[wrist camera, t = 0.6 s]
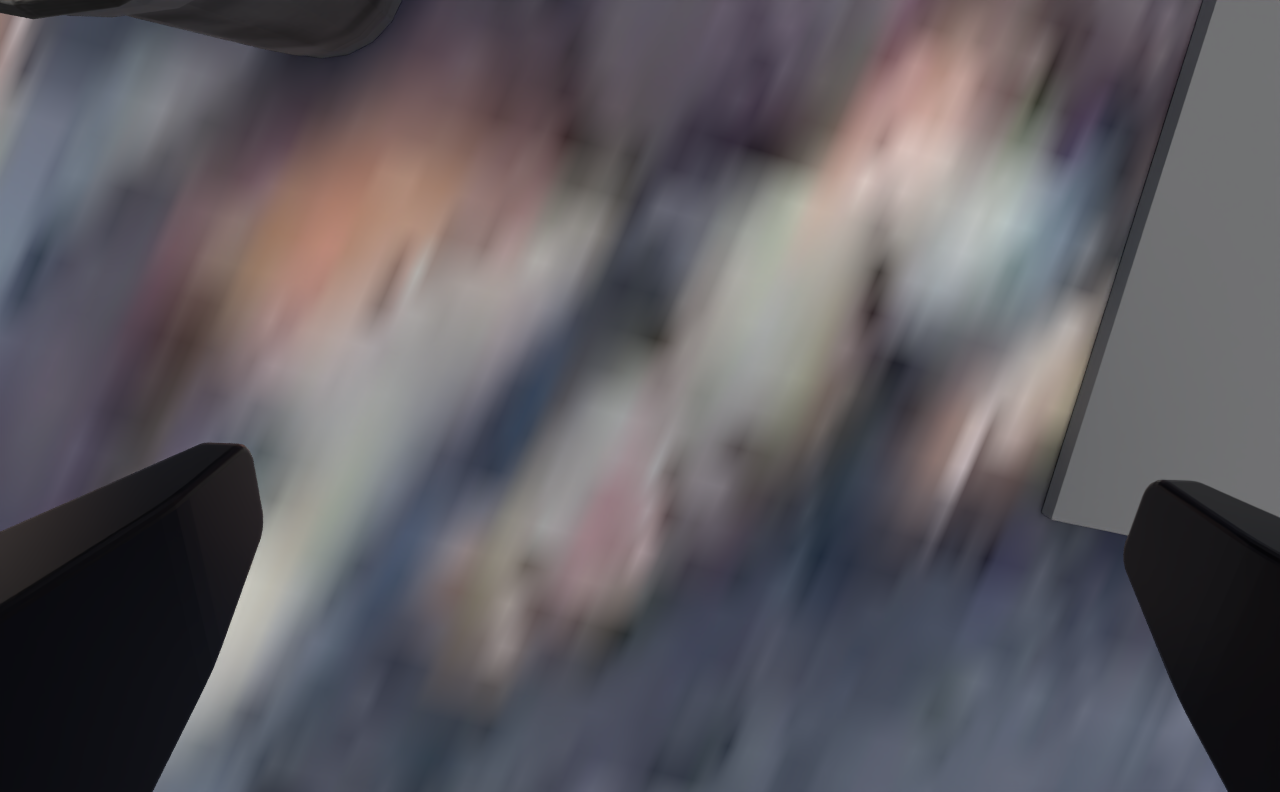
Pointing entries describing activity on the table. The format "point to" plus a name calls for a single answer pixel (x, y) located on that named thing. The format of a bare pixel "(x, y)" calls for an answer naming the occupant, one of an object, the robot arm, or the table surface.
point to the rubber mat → (1192, 296)
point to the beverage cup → (243, 20)
